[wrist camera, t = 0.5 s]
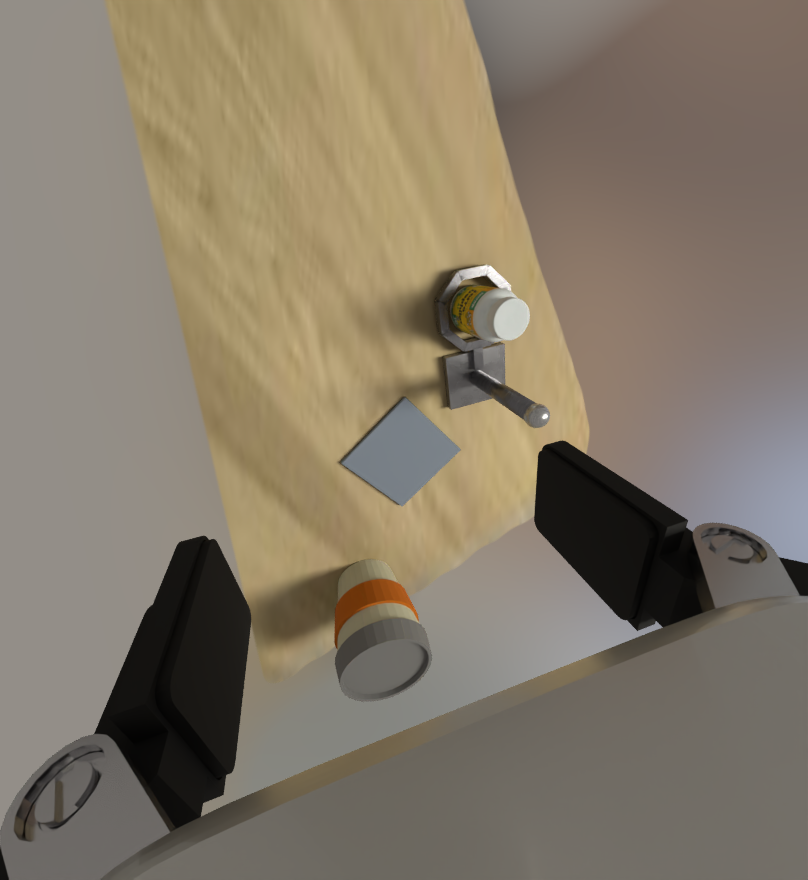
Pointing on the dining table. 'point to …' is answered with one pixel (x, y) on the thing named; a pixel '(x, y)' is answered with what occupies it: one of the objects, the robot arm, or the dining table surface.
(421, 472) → the rubber mat
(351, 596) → the reusable coffee cup
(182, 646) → the robot arm
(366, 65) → the dining table surface
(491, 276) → the ring stand
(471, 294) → the supplement bottle
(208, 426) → the dining table surface
